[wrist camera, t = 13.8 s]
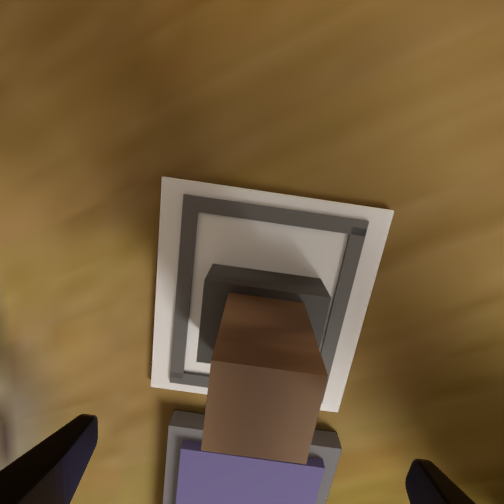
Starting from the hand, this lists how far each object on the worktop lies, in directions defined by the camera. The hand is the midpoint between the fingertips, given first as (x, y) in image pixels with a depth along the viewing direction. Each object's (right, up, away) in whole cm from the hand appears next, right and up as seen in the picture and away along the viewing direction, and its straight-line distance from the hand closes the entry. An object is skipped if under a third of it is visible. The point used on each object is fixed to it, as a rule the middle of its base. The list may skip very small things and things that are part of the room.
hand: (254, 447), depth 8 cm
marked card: (0, +2, +9) cm, 9 cm away
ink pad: (-1, -11, +13) cm, 17 cm away
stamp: (0, +2, +8) cm, 9 cm away
